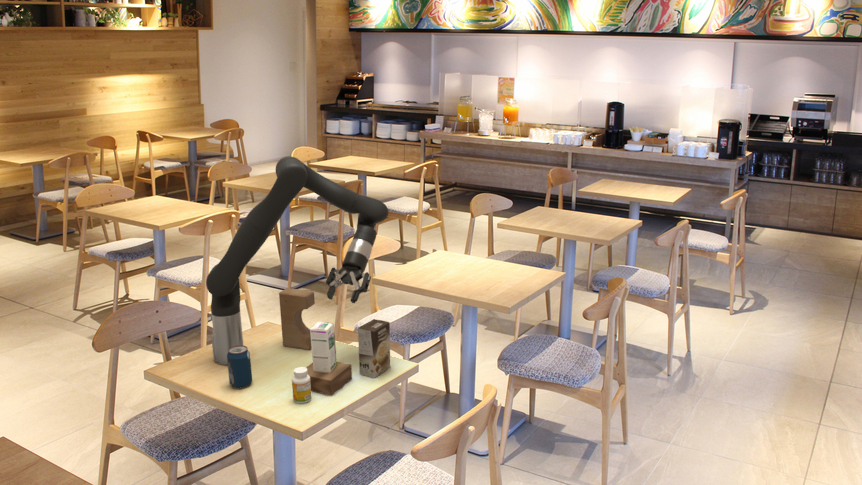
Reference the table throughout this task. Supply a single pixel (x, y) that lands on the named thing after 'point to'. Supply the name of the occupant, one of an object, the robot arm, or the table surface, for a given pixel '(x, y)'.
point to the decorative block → (295, 317)
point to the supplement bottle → (301, 385)
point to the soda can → (239, 367)
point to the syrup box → (323, 347)
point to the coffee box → (374, 348)
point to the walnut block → (330, 378)
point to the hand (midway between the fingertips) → (340, 300)
